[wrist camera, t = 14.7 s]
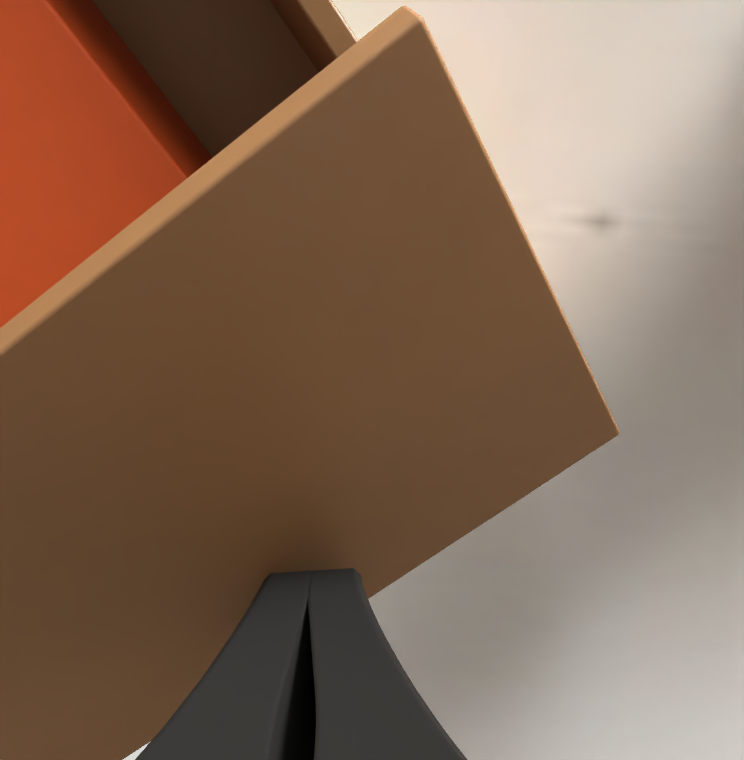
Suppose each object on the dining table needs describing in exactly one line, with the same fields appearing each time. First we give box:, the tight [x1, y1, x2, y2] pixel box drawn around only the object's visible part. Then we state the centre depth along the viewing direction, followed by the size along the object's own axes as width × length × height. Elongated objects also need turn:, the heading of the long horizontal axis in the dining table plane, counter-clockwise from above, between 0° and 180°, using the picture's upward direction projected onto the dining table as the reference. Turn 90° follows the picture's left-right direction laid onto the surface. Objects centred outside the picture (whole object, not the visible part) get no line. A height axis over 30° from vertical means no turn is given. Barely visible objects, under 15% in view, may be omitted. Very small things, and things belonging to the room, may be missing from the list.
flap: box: [0, 6, 620, 760], centre depth 9 cm, size 7×11×1 cm
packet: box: [0, 0, 212, 328], centre depth 13 cm, size 4×8×4 cm, turn 36°
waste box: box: [92, 0, 358, 158], centre depth 12 cm, size 15×11×5 cm
